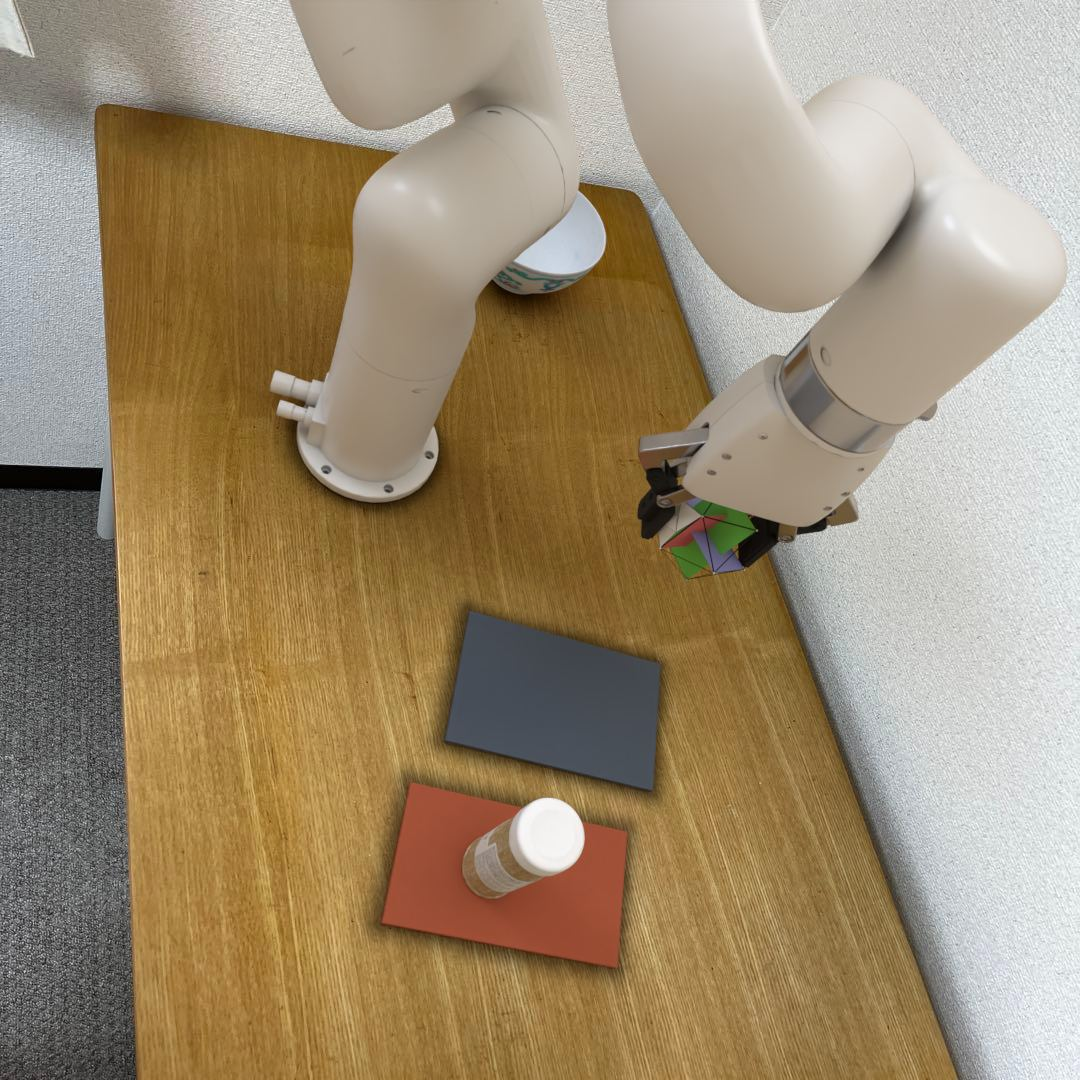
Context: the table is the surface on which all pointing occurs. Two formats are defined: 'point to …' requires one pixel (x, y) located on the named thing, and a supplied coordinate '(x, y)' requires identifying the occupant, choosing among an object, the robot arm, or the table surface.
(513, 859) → the sprinkles bottle
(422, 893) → the front mat
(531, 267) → the chinaware
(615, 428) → the table surface
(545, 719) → the back mat
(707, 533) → the geometric puzzle
